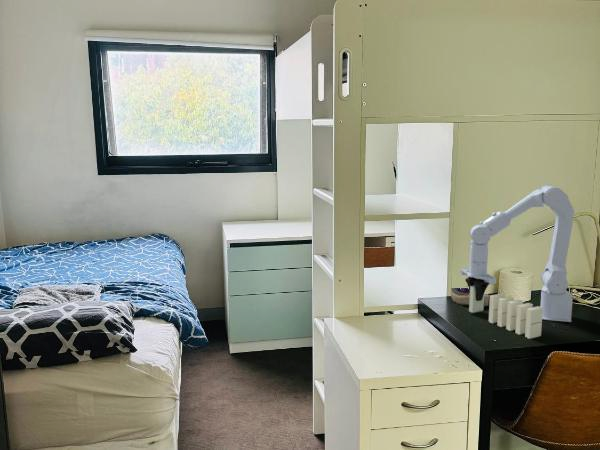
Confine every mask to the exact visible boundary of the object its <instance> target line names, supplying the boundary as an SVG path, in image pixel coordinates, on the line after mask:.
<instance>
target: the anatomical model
mask: <svg viewBox="0 0 600 450" xmlns="http://www.w3.org/2000/svg"><path fill="white" fill-rule="evenodd" d="M450 297H451V300H452V301H453V303H455V302H456V303H455V304H456V305H459V304H460V306H469V301H470V290H469V289H468V288H461V289H460V288H452V287H451V289H450ZM489 302H490V295H489V294H487V293H484V307H489Z"/></svg>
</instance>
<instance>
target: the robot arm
mask: <svg viewBox="0 0 600 450" xmlns="http://www.w3.org/2000/svg"><path fill="white" fill-rule="evenodd" d="M544 204H545V205H544ZM544 206H548V207H549V208H550V209H551V210H552V211H553V213H554V214H555V221H554V227H553V234H552V240H551V244H550V245H551V246H550V251H549V258H548V261H547V262H546V264H545V268H544V269H543V270H544V271H542V273H541V276H540V280H541V282H542V284H543V286H542V287H541V292H540V305H539V307H542V308H543V313H542V321H543V320H544V321H545V320H546V321H554V322H555V321H556V322H565V323H566V322H568V323H572V313H573V312H572V311H573V294H572V292H568V291H567V289H568V286H569V285H568V284H569V283H568V280H567V268H566V264H567V257H568V251H569V246H570V240H571V234H572V229H573V223H574V217H575V210H574V207H573V206H572V203H571V202H570V198H569V196H568V194H567V193H565V191H563V189H561V188H559V187H556V186H554V185H553V184H544V185H542V186H541V187H540V188H537V189H534V190H533V191H532V192H531V193H530V194H527V196H525V197H524V198H522V199H521V200H520V201H518V202H516V204H513V206H510V208H509V209H507V210H506V211H497V212H495V211H493V212H492V213H491V216H490V217H488V218H486V219H485V220H484V221H482V220H481V221H479V224H476V225H474V226H473V227H471V229H470V231H469V237H470V238H471V241H470V247H469V248H470V249H469V267H468V268H460V276H461V275H462V276H467V278H465V282H466V285H467V287H469V290H470V286H473V285H475V290H476V301H480V300H482V298H483V295H484V294H485V292H486V290H487V288H488V286H489V285H496V284H497V277H494V276H493V275H491V274H489V273H488V255H489V247H488V244H489V241H490V239H491V237H493V236H495V235H497V234H498V233H500V232H501V231H503V230H505V229H506V228H508V227H510V224H511V221H512V220H513V219H515V218H517V217H518V216H520V215H522V214H523V213H525V212H527V211H528V210H530V209H531V208H540V207H541V208H544Z"/></svg>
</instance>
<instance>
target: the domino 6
mask: <svg viewBox="0 0 600 450" xmlns="http://www.w3.org/2000/svg"><path fill="white" fill-rule="evenodd" d="M542 313H543V308H542V307H540V305H538V306H533V308H528V309H527V313H526V329H525V333H524V337H525V338H526V337H527V338H526V339H529V340H531V339H534V338H538V337H541V336H542V327H543V325H542V323H543V319H542Z"/></svg>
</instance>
